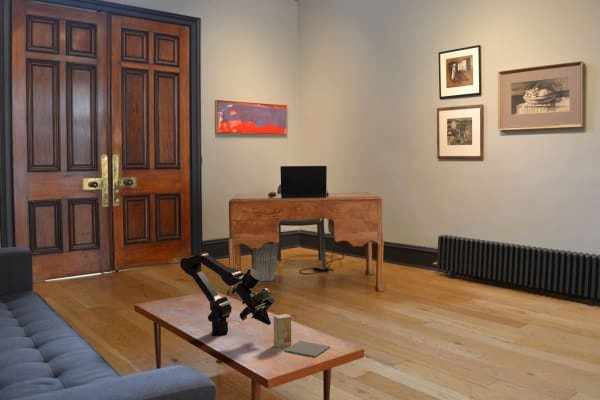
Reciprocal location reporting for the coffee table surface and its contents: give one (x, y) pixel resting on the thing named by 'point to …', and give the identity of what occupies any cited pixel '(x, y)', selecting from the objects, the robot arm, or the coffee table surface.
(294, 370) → the coffee table surface
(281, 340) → the skincare box
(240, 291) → the robot arm
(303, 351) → the mat
